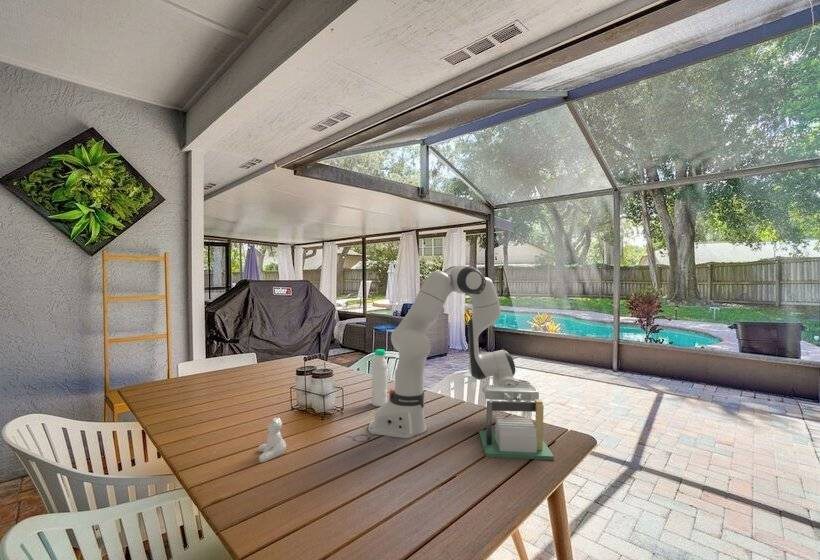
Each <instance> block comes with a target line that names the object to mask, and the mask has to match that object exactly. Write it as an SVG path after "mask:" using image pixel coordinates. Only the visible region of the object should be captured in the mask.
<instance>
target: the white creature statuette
mask: <svg viewBox="0 0 820 560" xmlns="http://www.w3.org/2000/svg"><path fill="white" fill-rule="evenodd" d="M282 426H283V422H282V420H281V418H280V417H273V418H272V421H271V422H270V423H269V424H268V427H267V432H268V435H267V437H266V443H263V444H260V445H259V446H258V450H257V451H258V452H260V453H261V454H260V455H258V462H259V463H265V462H268V461H272V460H273V459H275V458H277V457H281V456H282V455H283V454H284V453H285V452H286V450H287V443H286V441H285V440H284V439H283V437H282V433H281V432H280V431H281V429H282Z"/></svg>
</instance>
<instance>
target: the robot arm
mask: <svg viewBox="0 0 820 560" xmlns="http://www.w3.org/2000/svg"><path fill="white" fill-rule="evenodd" d="M452 292H454V293H458V294H462V295H463V294H464V295H465V294H467V295H469V297H470V299H471V305H472V310H473V311H472V315H471V317H470V319H468V323H467V337H468V338H467V339H468V340H467V341H468V355H469V356H468V358H469V359H468V371H469V374H470V376H471V377H472V378H474V379H476V380H479V381H480V380H483V379H486V378H488V377H489V378H490V377H492V379H491V380H492V383H493V384H486V385H485V386H484V387H482V388H481V390H482V392H484V399H486V400H491V401H517V402H535V399H540V391H539V390H538V389H537V387H535V386H534V385H532V384H531V382H530V381H528V380H522V379H518V378H515V377H514V376H515V373H516V365H515V361H514V359H513V356H512V355H511V353H509V352H508V351H507V350H505V349H500V350H495V351H491V352H486V353H482V354H481V353H479V352H480V351H479V350H480V349H479V337H480V335H481V333H482V332H484V331H485V330H486V329H487V328H489V327H490V326H492V325H493V324H494V323H496V322H497V320H498V319H499V318H500V316H501V303H500V298H499V295H498V291H497V289H496V286H495V284H494V282H493V281H492V279H491V278H490V277H487V276H486V277H485V276H484V275H483V273H482V272H481V271H480V270H479V269H477V268H476V267H473V266H467V265H466V266H465V265H456V266H450V267H448V268H446V269H445V270H444V271H443V270H434V271H432V272H431V273H430V274H429V275H428V276H427V278H426V279H425V281H424V282H423V284H422V285H421V287H420V289H419V291H418V293H417V294H416V297H415V298H414V301H413V303H412V305H411V307H409V308H410V309H409V310H408V312H407V313H406V314H405V316H404V317H403V319H402V320H401V321H400V322H399V324H398V326H396V327H395V328H394V329H393V330H392V333H391V334H390V341H391V344H392V345H391V346H393V348H394V350H396V351H397V352H398V362H397V367H396V369H395V370H394V388H390V389H389V391H388V392H389V395H388V396H389V398H388V399H389V400H387V403H385V404H384V405H382V406H379V408H378V409H377V410H376V413H375V414H374V418H373V419H372V420H370V422H369V424H368V428H367V429H368V430H367V431H368V433H370V434H371V435H378V436H379V435H380V436H384V437H393V438H394V437H395V438H399V439H400V438H401V439H410V438H412V437H414V436H418V435H421V434H423V433H425V432H426V431H427V428H428V427H427V424H426V417H425V409H424V407H425V391H424V374H425V372H424V371H425V367H426V363H427V360H428V359H427V358H428V356H429V355H430V354H431V350H432V343H431V340H430V339H429V338H428V336H427V335H426V334H425V333H426V332H427V331H428V330H429V328H430V327H431V326H432V325H433V324H435V323H436V321H437V320H438V319H439V315H440V313H441V311H442V310H443V307H444V306H445V303H446V301H447V299H448V297H449V296H450V294H451V293H452Z"/></svg>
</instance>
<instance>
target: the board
mask: <svg viewBox="0 0 820 560" xmlns="http://www.w3.org/2000/svg"><path fill="white" fill-rule="evenodd" d="M541 399H542V398H541ZM541 399H540V398H539V399H535V401H534V402H535V403H536V412H535V425H534V423H533V421H532V420H531V418H530V417H529V418H528V417H527V418H526V417H500V416H499V417H498V416H496V417H495V427H494V429H495V430H492V444H487V443H486V429H485V430H482V429H481V430H478V434H480V435H479V438H480V442H481V444H482V449H483V452H484V456H485V457H486V458H503V459H524V458H525V460H545V461H546V460H547V461H554V460H555V456H554V454H553V452H552V451H551V450H550V448H549V447H548V444H547V442H545V441H544V410H545V409H544V402H543V401H542V400H541Z"/></svg>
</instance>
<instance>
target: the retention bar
mask: <svg viewBox="0 0 820 560" xmlns="http://www.w3.org/2000/svg"><path fill="white" fill-rule="evenodd" d="M493 412H533V413H536V403H535V401H521V402H517V401H516V400H513V401H507V400H486V412H485V413H486V415H485V416H486V419H485V420H486V421H485V422H486V424H485V431H486V443H487V444H492V431H493Z"/></svg>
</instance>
